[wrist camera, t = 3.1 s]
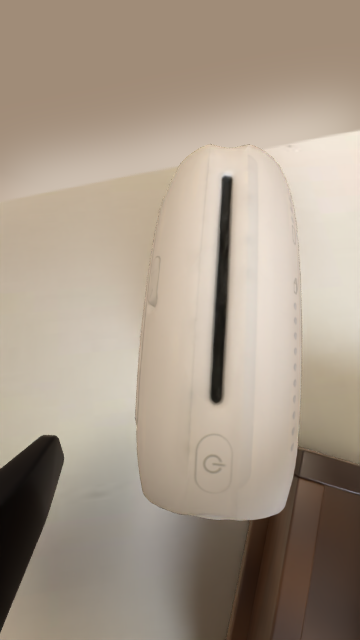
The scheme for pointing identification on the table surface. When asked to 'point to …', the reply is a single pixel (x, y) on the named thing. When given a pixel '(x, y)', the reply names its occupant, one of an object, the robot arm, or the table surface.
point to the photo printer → (221, 340)
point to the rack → (304, 559)
